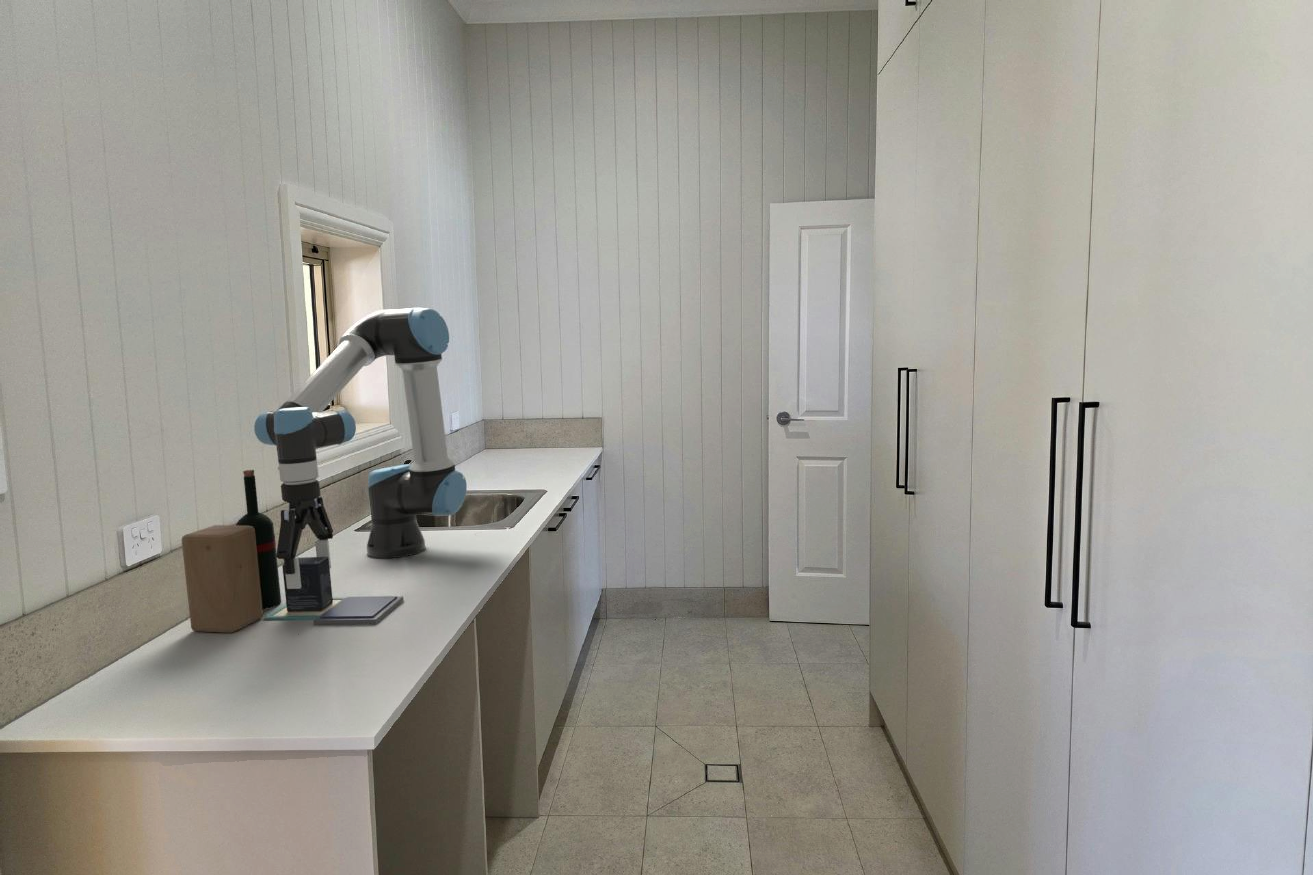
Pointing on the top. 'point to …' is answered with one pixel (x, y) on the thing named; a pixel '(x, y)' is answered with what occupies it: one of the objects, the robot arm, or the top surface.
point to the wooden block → (222, 578)
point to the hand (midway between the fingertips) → (310, 578)
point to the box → (310, 586)
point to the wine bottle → (262, 544)
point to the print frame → (298, 612)
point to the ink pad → (359, 610)
